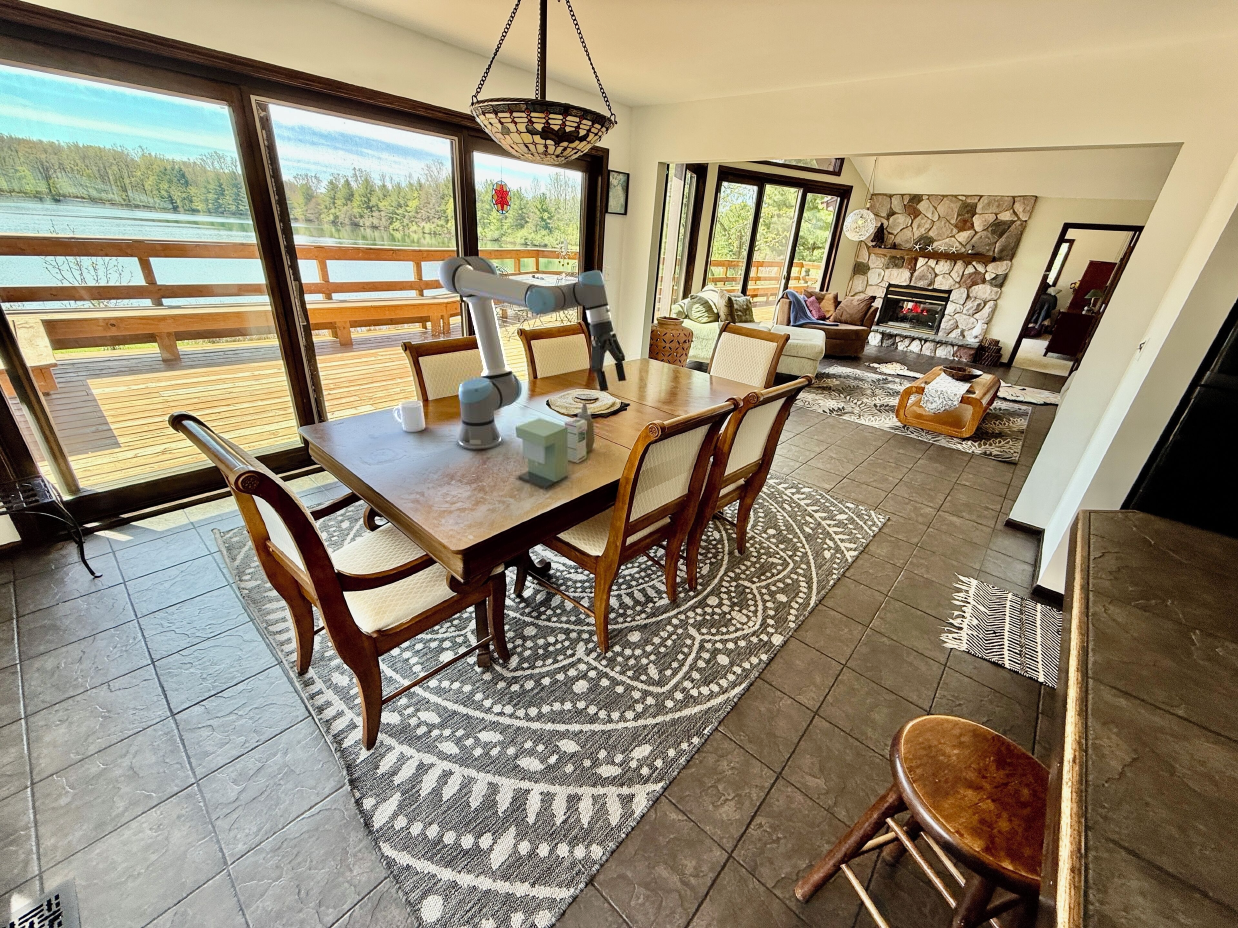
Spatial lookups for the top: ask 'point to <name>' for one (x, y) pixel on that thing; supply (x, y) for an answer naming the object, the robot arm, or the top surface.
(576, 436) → the syrup box
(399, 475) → the top surface
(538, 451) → the push plate
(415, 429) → the mug
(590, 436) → the squeeze bottle
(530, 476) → the dispenser
